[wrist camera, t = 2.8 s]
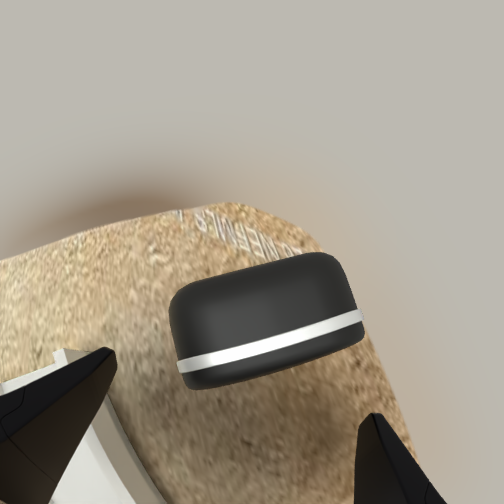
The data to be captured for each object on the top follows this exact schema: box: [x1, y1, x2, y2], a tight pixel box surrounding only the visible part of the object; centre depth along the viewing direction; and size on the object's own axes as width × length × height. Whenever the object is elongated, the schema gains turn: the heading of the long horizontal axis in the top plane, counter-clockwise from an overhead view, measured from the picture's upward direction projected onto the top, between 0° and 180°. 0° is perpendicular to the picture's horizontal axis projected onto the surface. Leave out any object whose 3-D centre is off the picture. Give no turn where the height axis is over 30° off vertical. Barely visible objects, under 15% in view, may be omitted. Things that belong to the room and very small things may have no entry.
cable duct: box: [0, 348, 167, 504], centre depth 13 cm, size 14×12×4 cm
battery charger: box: [169, 252, 365, 390], centre depth 14 cm, size 7×4×11 cm, turn 106°
